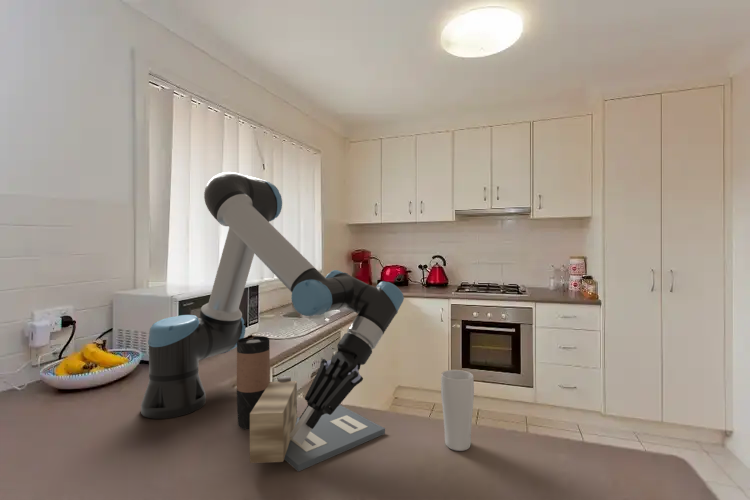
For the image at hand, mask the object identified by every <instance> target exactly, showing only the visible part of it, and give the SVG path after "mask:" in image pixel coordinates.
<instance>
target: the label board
mask: <svg viewBox="0 0 750 500" xmlns="http://www.w3.org/2000/svg"><path fill="white" fill-rule="evenodd" d="M299 418H300V416H297V422H296V424H297V423H298V421H299ZM295 426H296V425H295ZM385 434H386V428H385V427H383V426H382V425H380V424H377V423H375V422H373V421H372V420H370V419H368V418H366V417H364V416H362V415H360V414H358V413H356V412H355V411H352V410H351V409H349V408H348V407H345V406H342V405H341V404H340V405H339V406H338V407H337V408H336V409H335V411H334V412H333V413H332V414H331V415H329V414H324V415H322V416H321V417H320V419H319V421H318V422H317V424H316V425H315V427H314V428H313V429H311V431H310V432H309V434H308V436H307V437H306V439H305V440H304V442H303V443H302V445H301V444H300V443H298V442H297V441H296V440H294V439H293V438H291V440H290V443H289V445H288V448H287V451H286V454H285V457H284V460H285V462H287V463H288V464H289V465H290V466H291V467H292V468H294V469H295V471H297V472H300V471H303V470H305V469H308V468H310V467H312V466H314V465H316V464H319V463H321V462H323V461H326V460H328V459H331V458H332V457H335V456H337V455H339V454H342V453H344V452H346V451H348V450H351V449H354V448H355V447H358V446H360V445H362V444H364V443H366V442H368V441H372V440H374V439H376V438H378V437H381V436H383V435H385Z"/></svg>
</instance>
